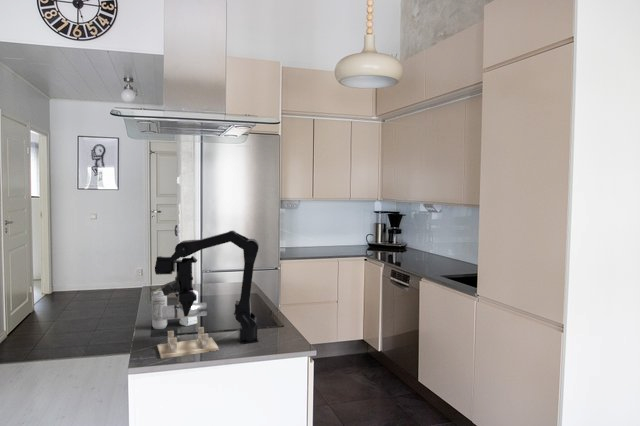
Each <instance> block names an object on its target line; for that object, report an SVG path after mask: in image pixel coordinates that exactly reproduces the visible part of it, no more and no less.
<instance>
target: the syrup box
mask: <svg viewBox="0 0 640 426" xmlns="http://www.w3.org/2000/svg"><path fill="white" fill-rule="evenodd" d="M193 292H194V293H195V294H196V301H194V302H193V304H194V303H199V291H197V290H195V289H193ZM179 305H181V304H180V303H179ZM178 319H179V325H182V326H185V327H189V326H194V325H197V324H199V316H196V317H187V318H178Z"/></svg>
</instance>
